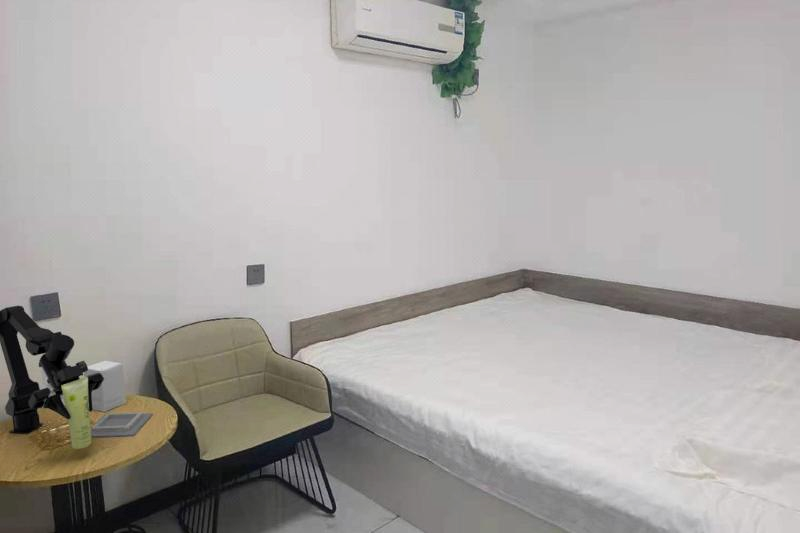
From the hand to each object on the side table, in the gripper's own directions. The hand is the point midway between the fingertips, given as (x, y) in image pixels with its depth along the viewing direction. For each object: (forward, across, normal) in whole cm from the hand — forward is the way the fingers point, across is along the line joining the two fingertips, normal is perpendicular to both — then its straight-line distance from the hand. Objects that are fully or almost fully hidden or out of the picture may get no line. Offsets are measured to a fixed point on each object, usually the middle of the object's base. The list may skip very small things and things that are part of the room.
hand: (80, 414), depth 155 cm
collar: (+1, +17, +18) cm, 25 cm away
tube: (+6, 0, +8) cm, 10 cm away
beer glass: (-24, +15, +43) cm, 52 cm away
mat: (+1, +17, +18) cm, 25 cm away
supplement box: (-12, +24, +32) cm, 42 cm away
